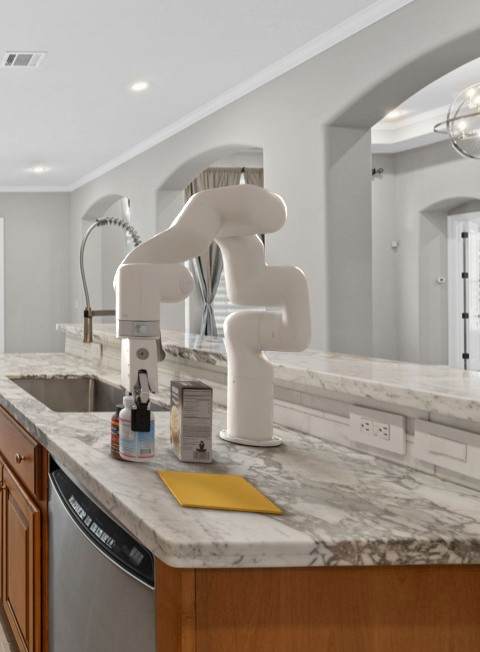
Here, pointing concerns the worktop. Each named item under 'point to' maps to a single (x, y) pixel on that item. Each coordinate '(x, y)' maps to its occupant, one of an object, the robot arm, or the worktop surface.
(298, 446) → the worktop surface
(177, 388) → the coffee box
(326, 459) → the worktop surface
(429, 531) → the worktop surface
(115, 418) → the supplement bottle
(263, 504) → the cloth
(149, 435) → the pill bottle
